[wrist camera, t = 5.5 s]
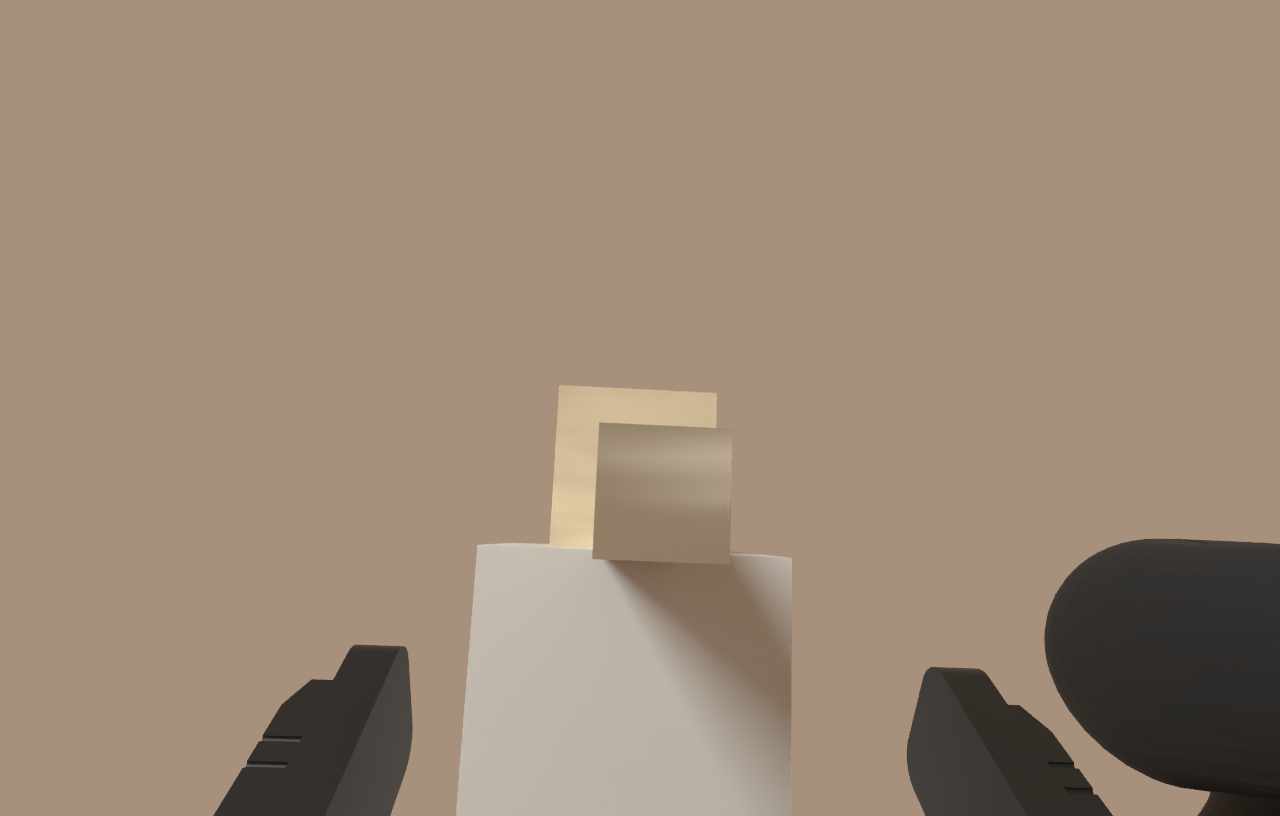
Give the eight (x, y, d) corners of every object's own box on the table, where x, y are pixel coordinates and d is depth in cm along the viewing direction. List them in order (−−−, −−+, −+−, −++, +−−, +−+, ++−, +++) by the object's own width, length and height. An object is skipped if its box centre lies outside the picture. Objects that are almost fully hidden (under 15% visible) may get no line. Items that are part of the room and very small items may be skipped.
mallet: (559, 544, 32) (567, 412, 33) (693, 550, 32) (696, 418, 33) (494, 555, 13) (518, 240, 14) (824, 568, 13) (822, 258, 14)
